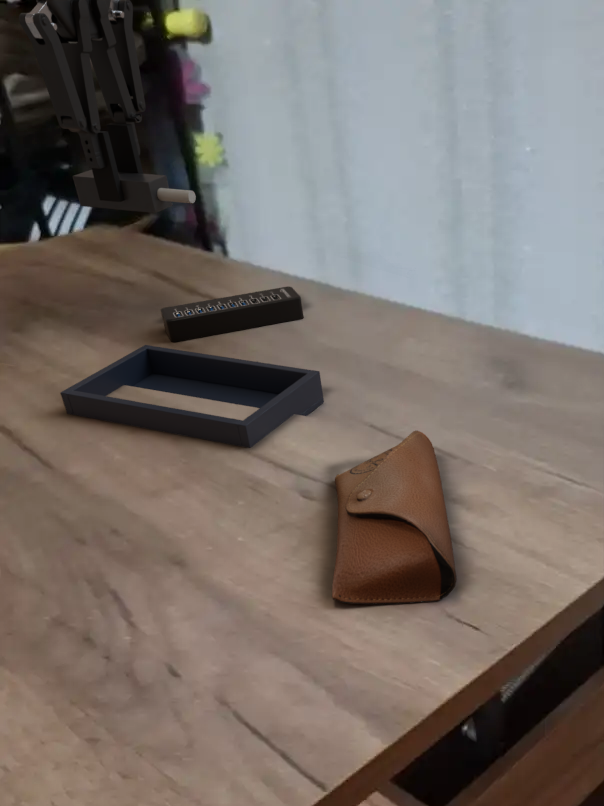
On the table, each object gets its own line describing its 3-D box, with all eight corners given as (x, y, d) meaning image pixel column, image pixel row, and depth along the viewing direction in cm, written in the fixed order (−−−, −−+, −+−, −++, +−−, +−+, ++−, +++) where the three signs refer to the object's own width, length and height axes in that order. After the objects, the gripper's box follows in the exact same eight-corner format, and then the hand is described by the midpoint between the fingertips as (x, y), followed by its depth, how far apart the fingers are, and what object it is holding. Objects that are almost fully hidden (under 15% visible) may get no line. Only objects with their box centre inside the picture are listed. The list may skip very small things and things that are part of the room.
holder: (70, 423, 85) (59, 392, 84) (153, 374, 94) (145, 344, 92) (252, 458, 79) (245, 425, 77) (324, 402, 87) (319, 370, 85)
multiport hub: (164, 329, 103) (159, 307, 102) (294, 305, 108) (290, 285, 106) (171, 342, 100) (166, 321, 99) (304, 318, 104) (301, 297, 103)
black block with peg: (80, 206, 103) (72, 175, 101) (99, 199, 105) (91, 169, 103) (186, 216, 98) (179, 184, 96) (203, 208, 100) (197, 177, 98)
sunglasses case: (327, 472, 75) (362, 401, 72) (407, 504, 78) (444, 437, 75) (329, 606, 62) (373, 525, 58) (426, 639, 64) (473, 563, 61)
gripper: (22, -76, 80) (101, 218, 95) (145, -85, 91) (198, 180, 106) (-44, -75, 82) (42, 213, 97) (83, -83, 94) (143, 175, 108)
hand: (123, 195), depth 102 cm, fingers closed on black block with peg, 3 cm apart
